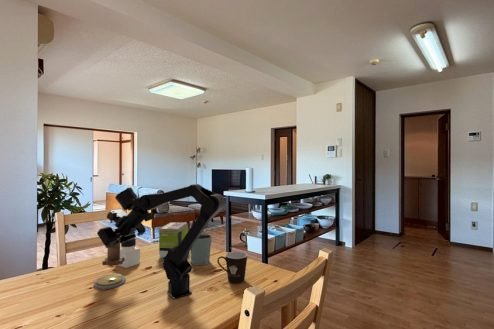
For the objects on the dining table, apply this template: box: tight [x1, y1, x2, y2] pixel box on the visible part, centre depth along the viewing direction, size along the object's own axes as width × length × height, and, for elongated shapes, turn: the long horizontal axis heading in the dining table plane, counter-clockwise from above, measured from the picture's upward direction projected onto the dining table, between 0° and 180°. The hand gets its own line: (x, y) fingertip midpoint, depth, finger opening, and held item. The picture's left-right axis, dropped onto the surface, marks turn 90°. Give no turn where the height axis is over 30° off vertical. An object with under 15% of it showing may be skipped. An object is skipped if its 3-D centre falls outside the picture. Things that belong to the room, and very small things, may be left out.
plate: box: [93, 275, 127, 290], centre depth 106 cm, size 11×11×1 cm
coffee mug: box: [216, 251, 248, 285], centre depth 110 cm, size 12×9×10 cm
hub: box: [96, 273, 124, 286], centre depth 106 cm, size 9×9×1 cm
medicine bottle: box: [117, 237, 141, 269], centre depth 126 cm, size 7×7×12 cm
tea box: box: [158, 222, 189, 259], centre depth 142 cm, size 15×10×15 cm
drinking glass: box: [190, 233, 213, 266], centre depth 130 cm, size 10×10×12 cm
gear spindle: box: [101, 238, 125, 267], centre depth 107 cm, size 8×7×12 cm
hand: (111, 245), depth 107 cm, fingers closed on gear spindle, 4 cm apart
